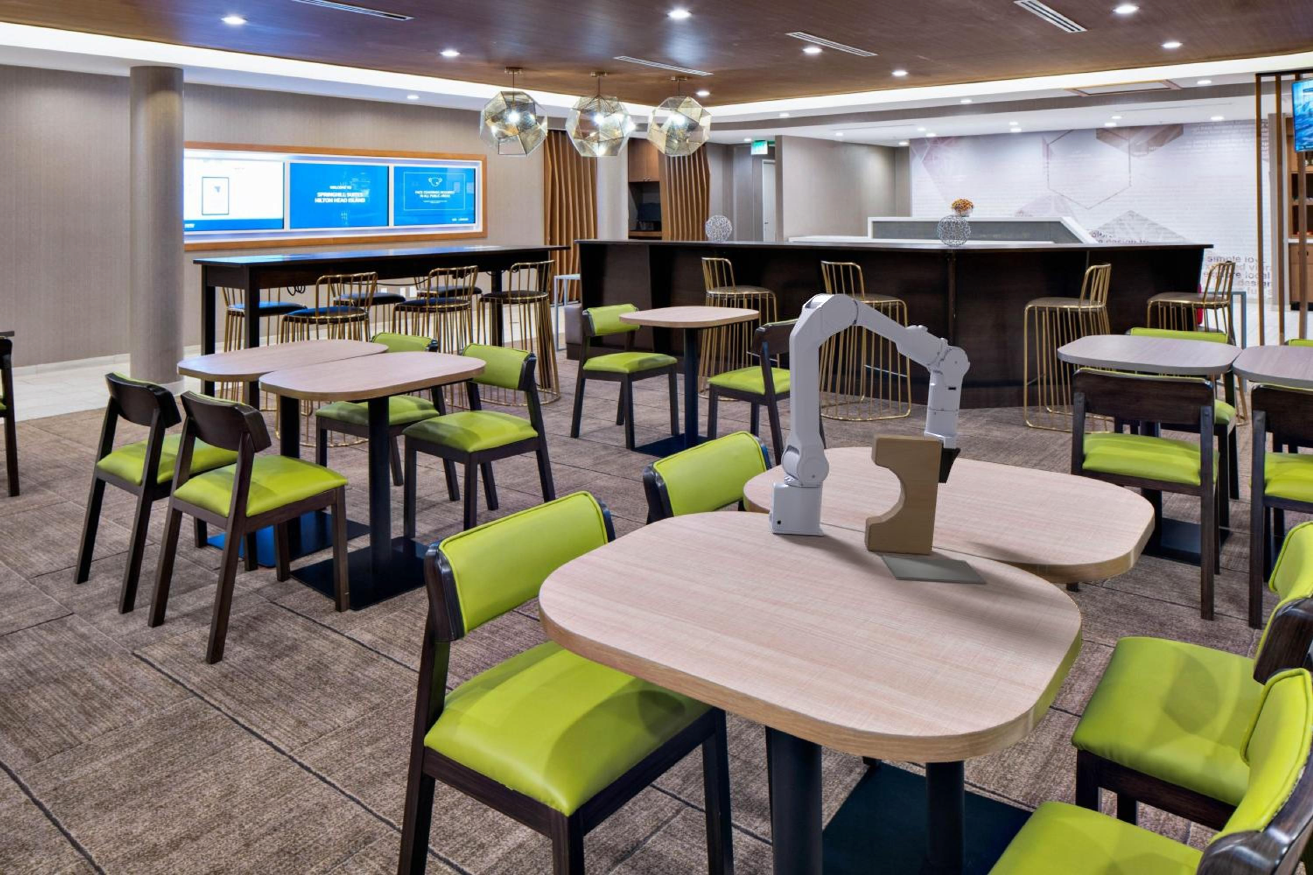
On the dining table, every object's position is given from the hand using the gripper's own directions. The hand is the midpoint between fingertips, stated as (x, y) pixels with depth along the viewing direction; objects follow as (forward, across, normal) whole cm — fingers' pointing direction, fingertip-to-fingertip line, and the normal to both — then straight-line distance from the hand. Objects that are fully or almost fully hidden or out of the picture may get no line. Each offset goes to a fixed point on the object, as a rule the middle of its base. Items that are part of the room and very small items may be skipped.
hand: (936, 479), depth 180 cm
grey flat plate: (+10, -28, +7) cm, 31 cm away
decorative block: (+10, -16, +10) cm, 21 cm away
